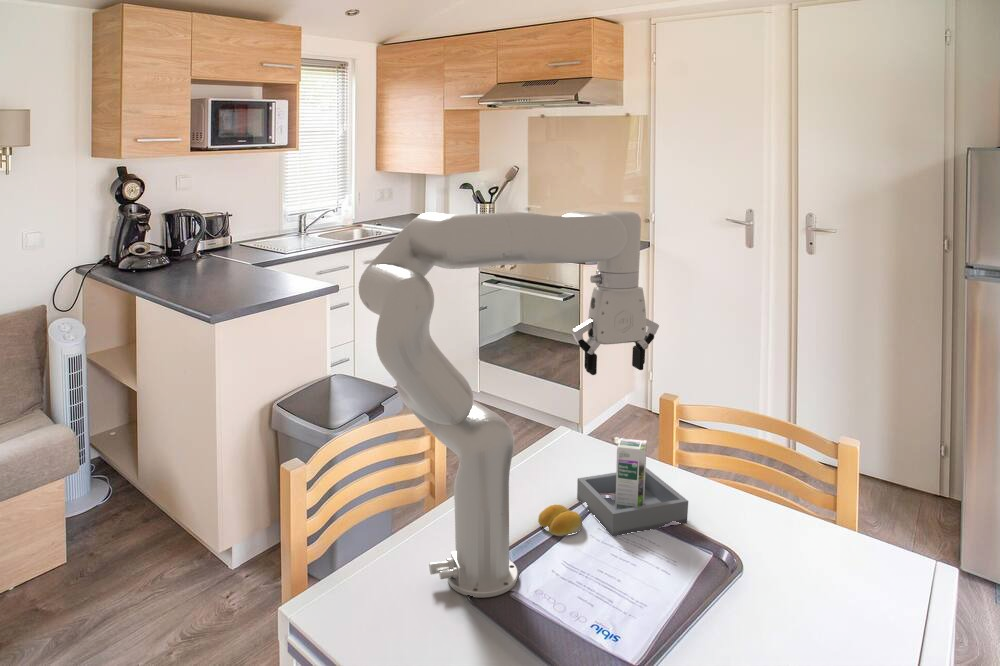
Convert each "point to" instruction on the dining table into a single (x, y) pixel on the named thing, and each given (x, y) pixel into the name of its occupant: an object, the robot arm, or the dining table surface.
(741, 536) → the dining table surface
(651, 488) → the bin
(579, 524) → the bread roll
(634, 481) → the syrup box
